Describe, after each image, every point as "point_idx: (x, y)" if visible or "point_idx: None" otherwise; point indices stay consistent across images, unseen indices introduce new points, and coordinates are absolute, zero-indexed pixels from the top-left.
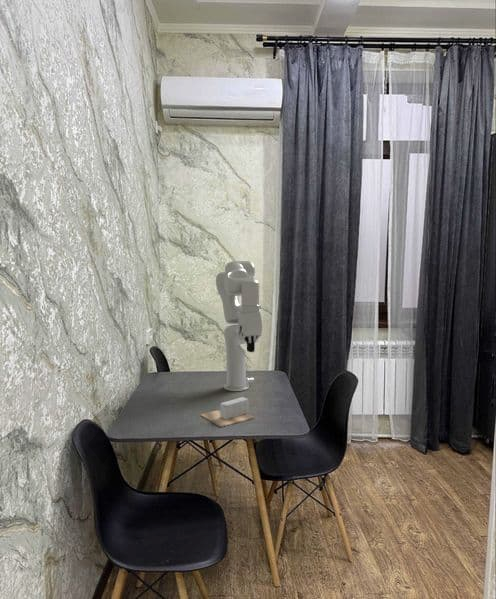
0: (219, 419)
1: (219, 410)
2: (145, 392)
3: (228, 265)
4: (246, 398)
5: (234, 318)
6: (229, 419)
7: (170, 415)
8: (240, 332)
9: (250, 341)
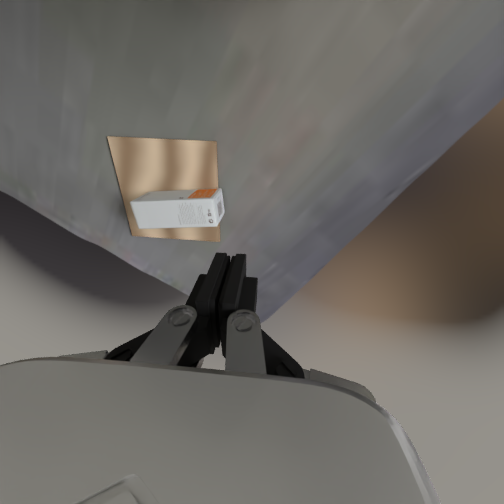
0: None
1: (166, 144)
2: None
3: None
4: (215, 217)
5: None
6: None
7: (20, 66)
8: (5, 393)
9: (193, 361)
